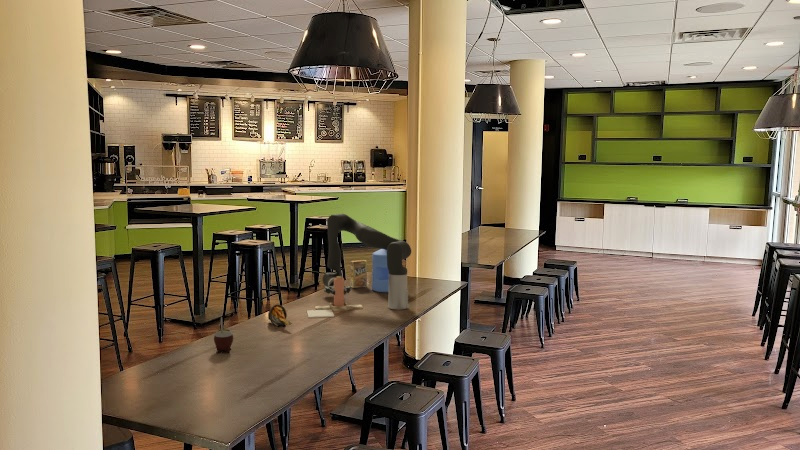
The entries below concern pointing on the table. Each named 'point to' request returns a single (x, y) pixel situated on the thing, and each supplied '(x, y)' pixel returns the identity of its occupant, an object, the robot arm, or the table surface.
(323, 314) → the felt pad
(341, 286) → the salmon block with knob
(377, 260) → the water jug
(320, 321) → the table surface
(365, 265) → the candy box
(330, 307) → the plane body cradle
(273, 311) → the fried shrimp in bowl
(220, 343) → the mate gourd
